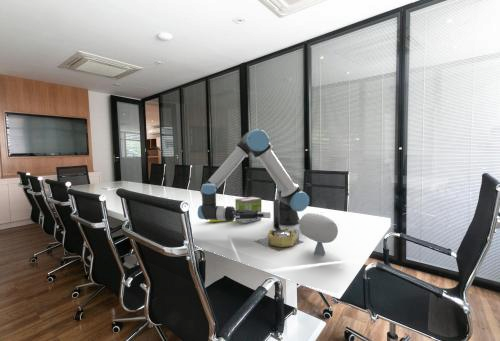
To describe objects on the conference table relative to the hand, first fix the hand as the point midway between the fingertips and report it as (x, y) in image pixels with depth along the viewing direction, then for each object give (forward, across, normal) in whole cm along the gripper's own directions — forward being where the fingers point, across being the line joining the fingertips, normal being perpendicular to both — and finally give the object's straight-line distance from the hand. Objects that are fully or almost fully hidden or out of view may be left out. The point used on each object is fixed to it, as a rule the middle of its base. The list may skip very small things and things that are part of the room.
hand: (270, 215), depth 130 cm
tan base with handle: (+6, +5, -11) cm, 14 cm away
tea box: (-20, -34, -13) cm, 42 cm away
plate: (+5, +6, -12) cm, 15 cm away
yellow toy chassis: (-37, -30, -13) cm, 49 cm away
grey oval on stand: (+23, +14, -13) cm, 30 cm away
